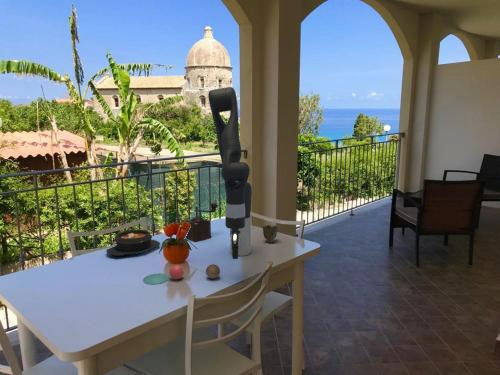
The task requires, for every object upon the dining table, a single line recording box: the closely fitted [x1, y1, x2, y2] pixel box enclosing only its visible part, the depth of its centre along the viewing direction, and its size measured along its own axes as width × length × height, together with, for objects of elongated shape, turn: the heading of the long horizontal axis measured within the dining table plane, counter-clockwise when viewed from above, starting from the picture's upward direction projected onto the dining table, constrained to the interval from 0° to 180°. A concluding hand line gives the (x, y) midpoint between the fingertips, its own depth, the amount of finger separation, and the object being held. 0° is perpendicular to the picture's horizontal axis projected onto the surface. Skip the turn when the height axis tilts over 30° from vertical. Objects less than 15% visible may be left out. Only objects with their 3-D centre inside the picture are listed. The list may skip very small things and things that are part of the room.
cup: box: [262, 224, 278, 244], centre depth 192 cm, size 8×7×8 cm
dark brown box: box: [183, 202, 219, 243], centre depth 200 cm, size 16×11×18 cm
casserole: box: [105, 229, 161, 257], centre depth 180 cm, size 25×19×8 cm
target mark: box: [142, 273, 170, 286], centre depth 149 cm, size 10×10×1 cm
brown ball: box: [205, 263, 221, 280], centre depth 149 cm, size 6×6×6 cm
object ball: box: [169, 264, 185, 280], centre depth 149 cm, size 6×6×6 cm
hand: (235, 258), depth 149 cm, fingers closed
